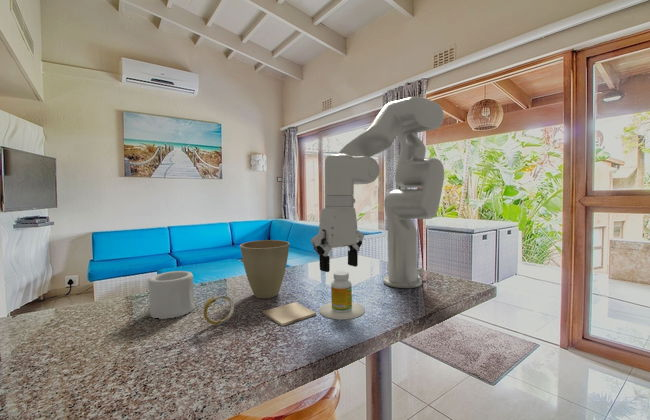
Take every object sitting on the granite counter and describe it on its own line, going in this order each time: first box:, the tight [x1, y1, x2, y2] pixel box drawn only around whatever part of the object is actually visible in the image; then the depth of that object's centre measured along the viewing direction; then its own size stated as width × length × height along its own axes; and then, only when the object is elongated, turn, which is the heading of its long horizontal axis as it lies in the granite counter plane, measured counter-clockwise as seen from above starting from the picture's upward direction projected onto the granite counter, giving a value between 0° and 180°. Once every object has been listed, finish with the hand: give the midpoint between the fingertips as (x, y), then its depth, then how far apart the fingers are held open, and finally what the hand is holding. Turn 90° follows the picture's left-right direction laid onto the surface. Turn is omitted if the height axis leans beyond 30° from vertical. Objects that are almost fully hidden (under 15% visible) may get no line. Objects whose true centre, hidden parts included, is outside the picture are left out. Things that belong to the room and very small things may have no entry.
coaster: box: [318, 301, 366, 321], centre depth 81 cm, size 12×12×1 cm
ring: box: [202, 290, 235, 326], centre depth 73 cm, size 7×3×8 cm, turn 115°
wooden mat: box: [262, 301, 317, 327], centre depth 79 cm, size 10×10×1 cm
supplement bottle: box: [330, 270, 353, 313], centre depth 81 cm, size 5×5×10 cm
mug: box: [147, 270, 195, 320], centre depth 83 cm, size 14×11×10 cm
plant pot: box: [239, 239, 290, 299], centre depth 94 cm, size 15×15×16 cm
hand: (339, 268), depth 80 cm, fingers open, 9 cm apart
